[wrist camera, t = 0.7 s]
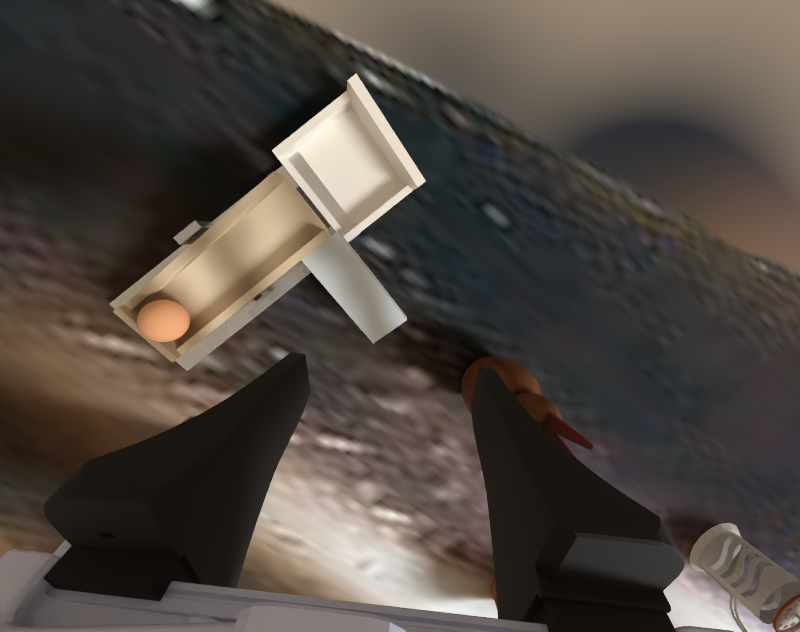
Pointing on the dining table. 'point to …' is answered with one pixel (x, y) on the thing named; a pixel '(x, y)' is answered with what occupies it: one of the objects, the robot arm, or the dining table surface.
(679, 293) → the dining table surface
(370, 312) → the beige tray
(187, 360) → the stand
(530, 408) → the wooden figurine
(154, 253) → the dining table surface
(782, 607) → the french press
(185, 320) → the brown egg
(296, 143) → the dish
